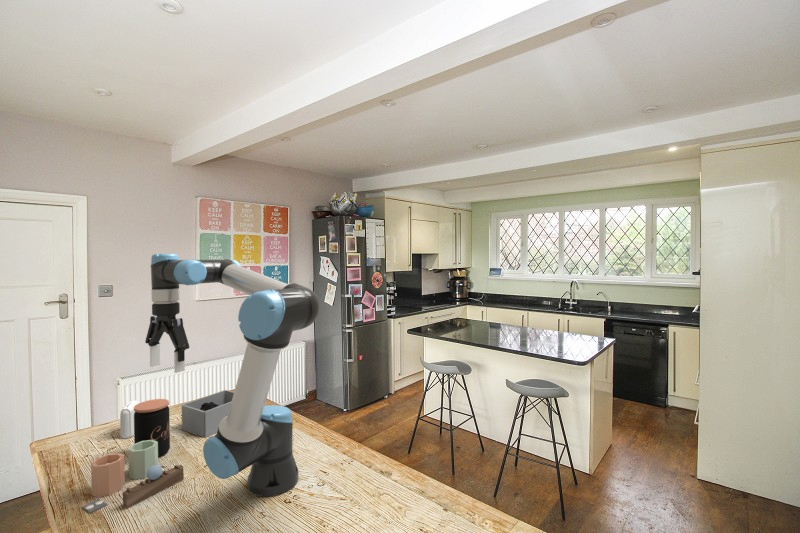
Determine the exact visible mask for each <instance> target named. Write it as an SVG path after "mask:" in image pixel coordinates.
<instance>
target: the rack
mask: <svg viewBox="0 0 800 533" xmlns="http://www.w3.org/2000/svg"><path fill="white" fill-rule="evenodd" d="M184 479H185V478H184V467H183V466H182V465H177V464H175V465H174V467H172V468H169V470H162V474H161V476H160V477H159V478H157V479H155V480H150V479H148V478H144V480H145V481H141V480H140V482H139V483H138V484H136V485H134V486H133V487H126V490H124V491H122V506H123V507H124V508H126V509H129V508H132V507H134V506H135V505H137V504H139V503H141V502H143V501H145V500H147V499H149V498H151V497H153V496H155V495H157V494H159V493H161V492H162V491H164V490H166V489H168V488H171V487H172V486H175V485H176V484H179V482H182V481H183V480H184Z"/></svg>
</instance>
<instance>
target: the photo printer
mask: <svg viewBox="0 0 800 533" xmlns="http://www.w3.org/2000/svg"><path fill="white" fill-rule="evenodd" d="M139 403H141V402H140V401H139V400H131V401H129V402H127V403H126V404H125V405H124V406H123V407H122V409H121V411H120V414H119V416H120V418H119V420H120V423H119V424H120V438H121V439H130V438H131V437H132V436H134V413H135V411H134V406H135V405H137V404H139Z"/></svg>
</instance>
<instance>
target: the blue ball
mask: <svg viewBox="0 0 800 533" xmlns="http://www.w3.org/2000/svg"><path fill="white" fill-rule="evenodd" d="M162 473H163V467H162V466H161V465H160V464H158V465H153V466H151V467H150V468H149V469H148V471H147V478H146V479H150V480H155V479H157V478H159V477H160V476H161V474H162Z"/></svg>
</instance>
